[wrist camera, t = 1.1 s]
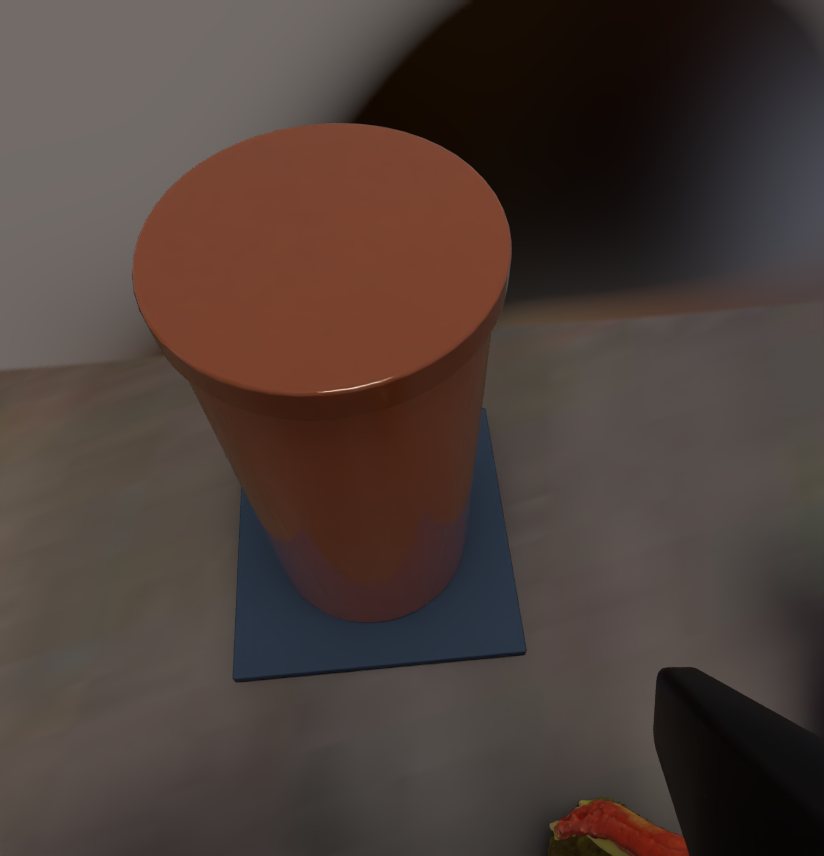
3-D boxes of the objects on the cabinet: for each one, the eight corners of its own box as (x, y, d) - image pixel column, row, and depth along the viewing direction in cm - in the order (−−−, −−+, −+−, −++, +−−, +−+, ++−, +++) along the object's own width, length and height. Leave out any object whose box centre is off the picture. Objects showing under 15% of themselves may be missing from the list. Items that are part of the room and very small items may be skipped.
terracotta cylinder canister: (486, 619, 22) (544, 376, 11) (269, 639, 22) (104, 412, 11) (459, 435, 26) (483, 110, 14) (273, 450, 25) (152, 134, 14)
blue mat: (525, 654, 22) (526, 651, 21) (235, 682, 22) (232, 679, 21) (484, 413, 26) (485, 407, 26) (246, 433, 26) (243, 427, 26)
